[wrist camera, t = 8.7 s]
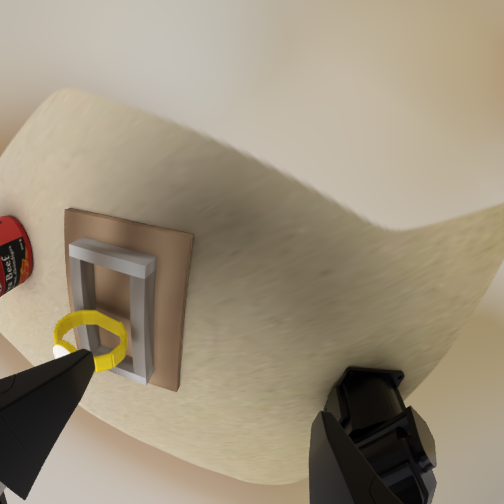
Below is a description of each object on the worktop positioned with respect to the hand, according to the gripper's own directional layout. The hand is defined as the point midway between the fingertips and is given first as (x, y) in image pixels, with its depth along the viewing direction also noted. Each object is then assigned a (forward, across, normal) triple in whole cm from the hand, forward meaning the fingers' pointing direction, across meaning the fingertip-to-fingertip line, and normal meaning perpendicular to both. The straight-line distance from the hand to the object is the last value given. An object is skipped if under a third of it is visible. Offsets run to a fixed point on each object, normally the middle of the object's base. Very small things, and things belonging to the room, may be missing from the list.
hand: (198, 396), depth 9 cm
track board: (+12, +10, +6) cm, 17 cm away
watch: (+10, +10, +6) cm, 15 cm away
